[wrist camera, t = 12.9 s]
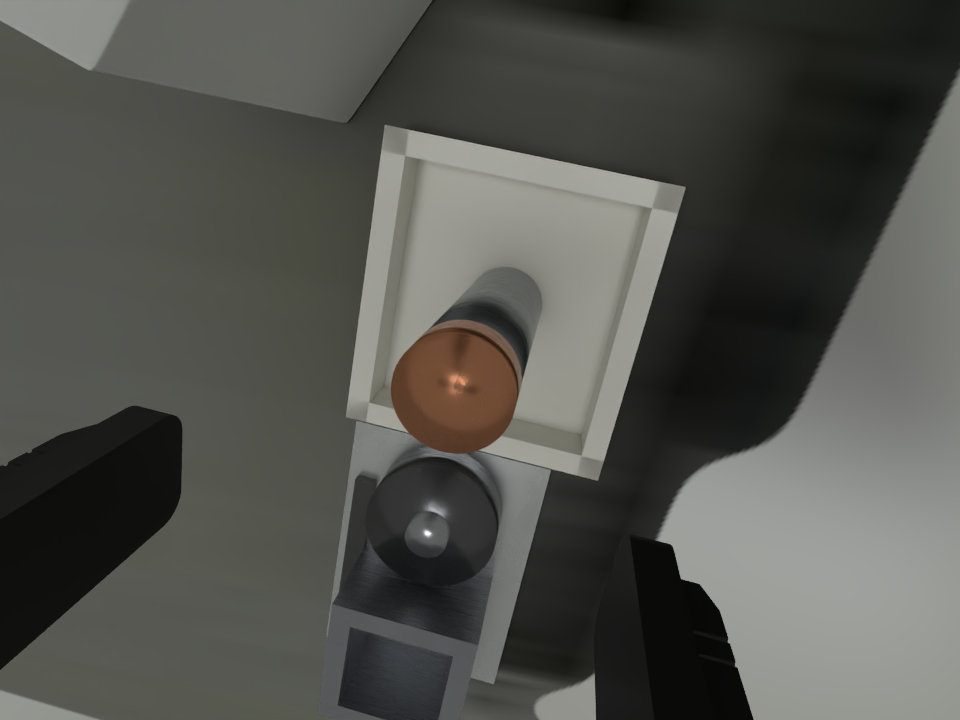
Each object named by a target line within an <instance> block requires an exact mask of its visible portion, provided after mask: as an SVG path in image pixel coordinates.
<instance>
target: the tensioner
mask: <svg viewBox="0 0 960 720" xmlns="http://www.w3.org/2000/svg"><path fill="white" fill-rule="evenodd" d="M550 472H551V469H550V468H546V467H542V466H538V465H534V464H530V463H526V462H522V461H518V460H514V459H510V458H506V457H502V456H498V455H494V454H490V453H486V452H482V451H475V452H470V453H462V454H454V453H446V452H441V451H438V450H435V449H432V448H430V447H428V446H426V445H424V444H423V443H421V442H419V441H418V440H417V439H415V438H414V437H413V436H412V435H411V434H410V433H407V432H403V431H400V430H396V429H392V428H388V427H384V426H380V425H376V424H372V423H368V422H364V421H360V420H357V422H356V429H355V436H354V443H353V450H352V457H351V464H350V472H349V479H348V486H347V493H346V500H345V507H344V514H343V521H342V528H341V536H340V543H339V550H338V557H337V564H336V571H335V578H334V585H333V593H332V600H331V607H330V614H329V621H328V628H327V635H326V636H328V637H327V644H326V651H325V658H324V665H323V672H322V679H321V686H320V693H319V700H318V708H317V715H319V716H323V717H326V718H329V719H333V720H460V717H461V713H462V709H463V705H464V701H465V697H466V693H467V689H468V685H469V681H470V678H474V679H477V680H481V681H484V682H488V683H491V684H494V681H495V677H496V674H497V670H498V666H499V662H500V659H501V655H502V651H503V648H504V644H505V640H506V636H507V633H508V629H509V625H510V621H511V618H512V614H513V610H514V607H515V603H516V599H517V595H518V592H519V588H520V584H521V580H522V577H523V573H524V569H525V565H526V562H527V558H528V554H529V551H530V547H531V543H532V539H533V536H534V532H535V528H536V524H537V521H538V517H539V513H540V510H541V506H542V502H543V498H544V495H545V491H546V487H547V483H548V480H549V476H550Z"/></svg>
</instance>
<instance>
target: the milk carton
mask: <svg viewBox="0 0 960 720" xmlns="http://www.w3.org/2000/svg"><path fill="white" fill-rule="evenodd" d="M431 2H432V0H0V21H2V22H4V23H6V24H7V25H9V26H11V27H13V28H15V29H16V30H18V31H20V32H22V33H23V34H25V35H27V36H29V37H30V38H32V39H34V40H36V41H37V42H39V43H41V44H43V45H45V46H46V47H48V48H50V49H52V50H53V51H55V52H57V53H59V54H60V55H62V56H64V57H66V58H67V59H69V60H71V61H73V62H75V63H76V64H78V65H80V66H82V67H83V68H85V69H87V70H89V71H90V70H94V71H99V72H104V73H108V74H113V75H118V76H123V77H127V78H132V79H137V80H142V81H146V82H151V83H156V84H161V85H165V86H170V87H175V88H180V89H184V90H189V91H194V92H199V93H203V94H208V95H213V96H218V97H222V98H227V99H232V100H236V101H241V102H246V103H251V104H255V105H260V106H265V107H270V108H274V109H279V110H284V111H289V112H293V113H298V114H303V115H308V116H312V117H317V118H322V119H327V120H331V121H336V122H341V123H346V122H348V121H349V120H350V119H351V117H352V116H353V114H354V113H355V112H356V110H357V109H358V107H359V106H360V105H361V103H362V102H363V100H364V99H365V97H366V96H367V94H368V93H369V92H370V90H371V89H372V87H373V86H374V84H375V83H376V81H377V80H378V79H379V77H380V76H381V74H382V73H383V71H384V70H385V68H386V67H387V66H388V64H389V63H390V61H391V60H392V58H393V57H394V55H395V54H396V53H397V51H398V50H399V48H400V47H401V45H402V44H403V42H404V41H405V40H406V38H407V37H408V35H409V34H410V32H411V31H412V29H413V28H414V27H415V25H416V24H417V22H418V21H419V19H420V18H421V16H422V15H423V14H424V12H425V11H426V9H427V8H428V6H429V5H430V3H431Z"/></svg>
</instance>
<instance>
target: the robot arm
mask: <svg viewBox="0 0 960 720" xmlns="http://www.w3.org/2000/svg"><path fill="white" fill-rule="evenodd" d="M181 473H182V424H181V421H180V419H179V418H178V417H177V416H174V415H171V414H167V413H163V412H159V411H155V410H151V409H147V408H143V407H140V406H130V407H128V408H126V409H124V410H122V411H120V412H119V413H117V414H115V415H113V416H111V417H109V418H108V419H106V420H104V421H102V422H100V423H98V424H97V425H96V424H95V425H92V426H88V427H85V428H81V429H78V430H74V431H71V432H67V433H64V434H61V435H59V436H57V437H55V438H53V439H51V440H49V441H47V442H45V443H43V444H42V445H40V446H38V447H36V448H34V449H32V452H31V453H27V452H26V453H25V454H23V455H21V456H19V457H17V458H15V459H13V460H11V461H9V462H8V465H7V466H3V465H2V466H0V670H1V669H2V668H3V667H4V666H5V665H6V664H8V663H9V662H10V661H11V660H12V659H13V658H14V657H15V656H17V655H18V654H19V653H20V652H21V651H22V650H23V649H25V648H26V647H27V646H28V645H29V644H30V643H31V642H33V641H34V640H35V639H36V638H37V637H38V636H39V635H40V634H42V633H43V632H44V631H45V630H46V629H47V628H48V627H50V626H51V625H52V624H53V623H54V622H55V621H56V620H58V619H59V618H60V617H61V616H62V615H63V614H64V613H65V612H67V611H68V610H69V609H70V608H71V607H72V606H73V605H75V604H76V603H77V602H78V601H79V600H80V599H81V598H82V597H84V596H85V595H86V594H87V593H88V592H89V591H90V590H92V589H93V588H94V587H95V586H96V585H97V584H98V583H100V582H101V581H102V580H103V579H104V578H105V577H106V576H107V575H109V574H110V573H111V572H112V571H113V570H114V569H115V568H117V567H118V566H119V565H120V564H121V563H122V562H123V561H125V560H126V559H127V558H128V557H129V556H130V555H131V554H132V553H134V552H135V551H136V550H137V549H138V548H139V547H140V546H142V545H143V544H144V543H145V542H146V541H147V540H148V539H150V538H151V537H152V536H153V535H154V534H155V533H156V532H157V531H159V530H160V529H161V528H162V527H163V526H164V525H165V524H166V523H167V522H168V521H169V520H170V518H171V517H172V515H173V513H174V512H175V509H176V507H177V505H178V502H179V499H180V495H181ZM594 661H595V694H596V720H753V716H752V713H751V710H750V707H749V704H748V701H747V697H746V694H745V691H744V688H743V684H742V681H741V678H740V675H739V671H738V668H737V667H735V659H734V655H733V652H732V649H731V646H730V644H729V643H728V636H727V633H726V630H725V626H724V623H723V620H722V617H721V614H720V611H719V609H718V608H717V607H716V605H715V604H714V603H713V602H712V600H711V599H710V597H709V596H708V595H707V594H706V592H705V591H704V590H703V588H702V587H701V586H700V584H697V583H693V582H689V581H685V580H682V579H681V578H680V574H679V570H678V566H677V562H676V557H675V553H674V550H673V547H672V546H671V545H670V544H667V543H662V542H659V541H655V540H651V539H647V538H643V537H639V536H636V535H632V534H628V533H626V534H625V535H624V537H623V538H622V541H621V543H620V546H619V549H618V552H617V555H616V558H615V561H614V564H613V567H612V570H611V573H610V576H609V579H608V582H607V585H606V588H605V591H604V594H603V597H602V600H601V603H600V607H599V611H598V615H597V620H596V626H595V635H594Z"/></svg>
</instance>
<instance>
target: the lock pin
mask: <svg viewBox="0 0 960 720" xmlns="http://www.w3.org/2000/svg"><path fill="white" fill-rule="evenodd" d="M541 311H542V297H541V293H540V290H539V288H538V286H537V284H536V283H535V282H534V280H533V279H532V278H531V277H530V276H529V275H527V274H526V273H524V272H523V271H521V270H519V269H516V268H512V267H498V268H494V269H491V270H489V271H487V272H485V273H484V274H482V275H481V276H480V277H479V278H478V279H477V280H476V281H475V282H474V283H473V284H472V285H471V286H470V287H469V288H468V289H467V290H466V291H465V292H464V293H463V294H462V295H461V296H460V297H459V299H458V300H457V301H456V302H455V303H454V304H453V305H452V306H451V307H450V308H449V309H448V310H447V311H446V312H445V313H444V314H443V315H442V316H441V317H440V318H439V319H438V320H437V321H436V322H435V323H434V324H433V325H432V326H431V327H430V328H429V329H428V330H427V331H426V332H425V333H424V334H423V335H422V336H421V337H420V338H419V339H418V340H417V341H416V342H415V343H414V344H413V345H412V346H411V347H410V348H409V349H408V350H407V351H406V352H405V353H404V354H403V356H402V357H401V358H400V360H399V361H398V363H397V365H396V367H395V370H394V372H393V376H392V380H391V398H392V403H393V407H394V410H395V412H396V414H397V417H398V419H399V420H400V422H401V423H402V425H403V426H404V428H405V429H406V430H407V431H408V432H409V433H410V434H411V435H412V436H413V437H414V438H415V439H417V440H418V441H419V442H421V443H423V444H424V445H426V446H428V447H430V448H432V449H435V450H438V451H441V452H446V453H454V454H462V453H470V452H475V451H478V450H481V449H483V448H485V447H487V446H489V445H490V444H492V443H494V442H495V441H496V440H497V439H498V438H500V437H501V435H502V434H503V433H504V432H505V431H506V429H507V428H508V426H509V424H510V422H511V420H512V418H513V415H514V412H515V408H516V404H517V401H518V397H519V393H520V389H521V383H522V380H523V376H524V373H525V369H526V365H527V362H528V358H529V355H530V351H531V347H532V344H533V340H534V336H535V333H536V329H537V326H538V322H539V318H540V315H541Z"/></svg>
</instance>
